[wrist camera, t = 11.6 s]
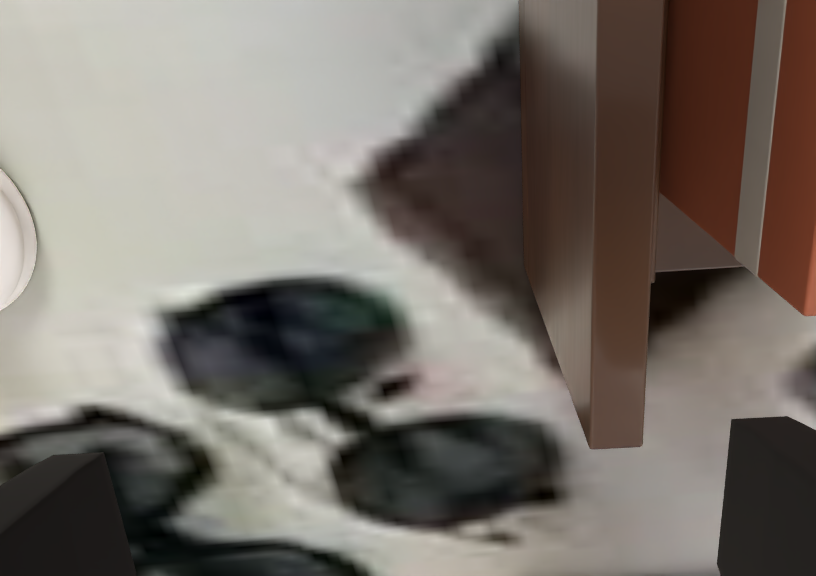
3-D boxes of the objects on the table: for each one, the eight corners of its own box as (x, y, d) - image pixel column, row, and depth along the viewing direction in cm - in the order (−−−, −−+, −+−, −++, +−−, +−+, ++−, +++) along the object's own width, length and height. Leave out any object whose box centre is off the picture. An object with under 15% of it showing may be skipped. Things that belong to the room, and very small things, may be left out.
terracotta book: (774, 183, 17) (998, 307, 10) (655, 192, 17) (801, 319, 10) (808, -121, 14) (1124, -213, 8) (670, -109, 14) (869, -190, 8)
